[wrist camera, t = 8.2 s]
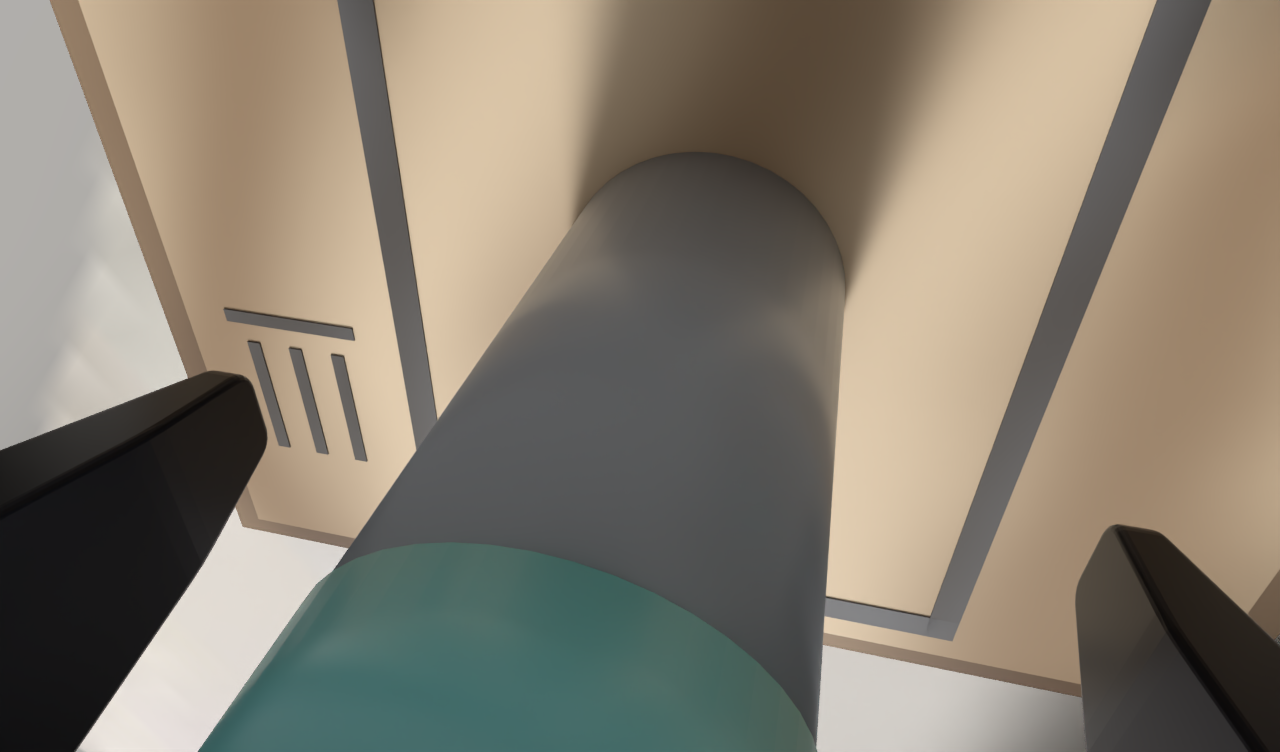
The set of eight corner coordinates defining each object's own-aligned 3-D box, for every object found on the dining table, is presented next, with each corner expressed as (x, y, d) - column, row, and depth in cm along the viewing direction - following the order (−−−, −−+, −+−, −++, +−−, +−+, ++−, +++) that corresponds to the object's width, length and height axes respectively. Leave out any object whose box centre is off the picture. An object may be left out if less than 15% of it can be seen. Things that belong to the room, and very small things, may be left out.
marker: (876, 167, 10) (873, 1048, 3) (822, 422, 13) (751, 1246, 6) (560, 132, 11) (-38, 785, 4) (567, 380, 13) (212, 1063, 6)
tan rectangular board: (2089, -550, 6) (2446, -650, 5) (1196, 685, 16) (1228, 774, 14) (-72, -493, 10) (-237, -542, 8) (263, 502, 19) (214, 560, 18)
